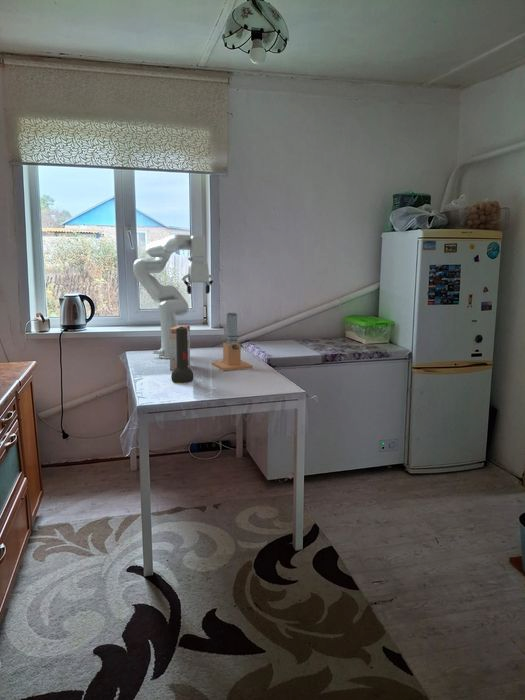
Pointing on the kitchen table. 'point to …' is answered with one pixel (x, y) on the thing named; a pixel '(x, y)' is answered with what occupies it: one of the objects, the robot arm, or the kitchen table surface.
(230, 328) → the steel column
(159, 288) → the robot arm
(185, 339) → the flashlight
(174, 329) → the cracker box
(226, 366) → the stand
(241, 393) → the kitchen table surface
